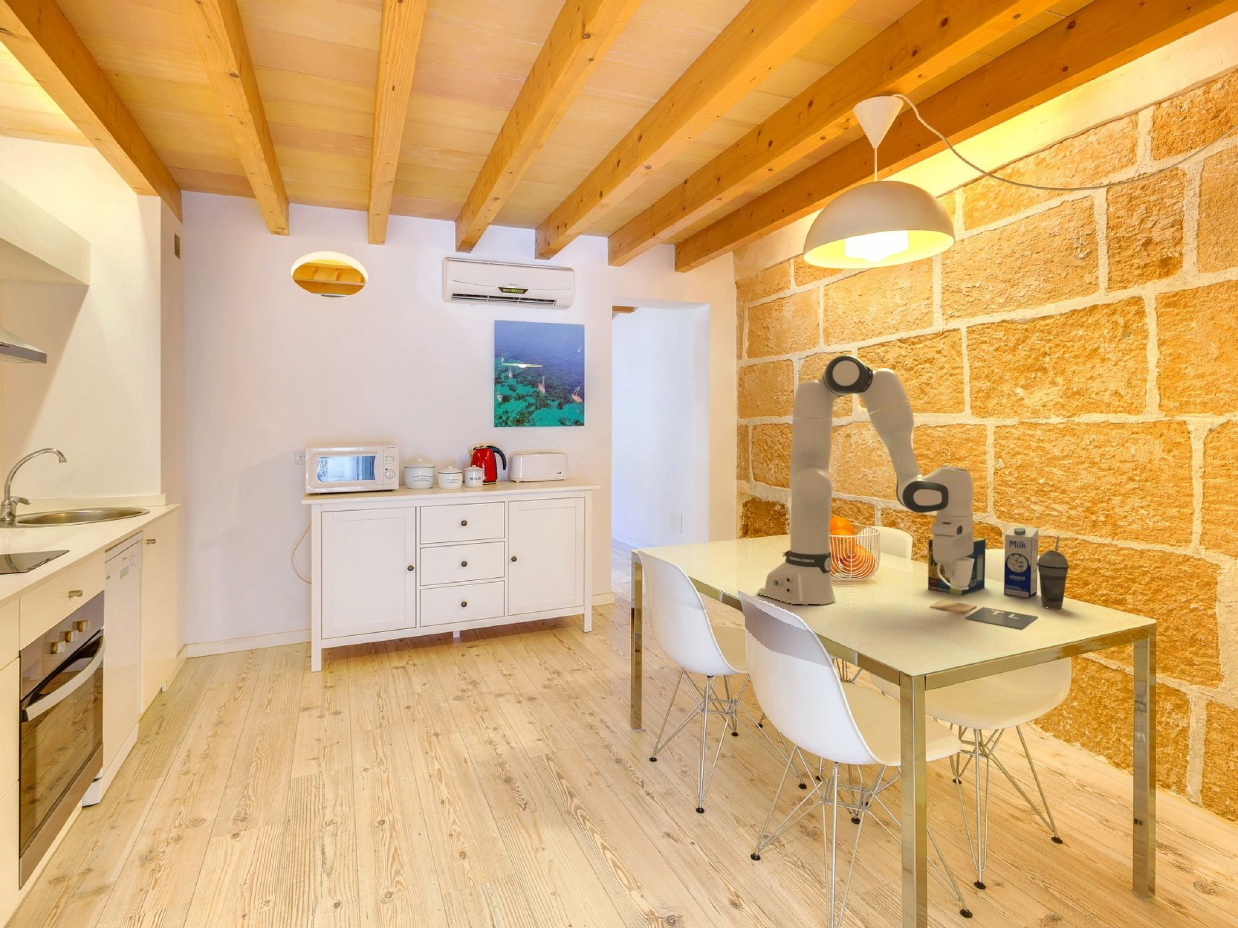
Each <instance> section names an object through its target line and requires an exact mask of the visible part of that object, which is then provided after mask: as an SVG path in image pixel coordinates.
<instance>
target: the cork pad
mask: <svg viewBox="0 0 1238 928" xmlns="http://www.w3.org/2000/svg"><path fill="white" fill-rule="evenodd" d="M929 608H930V609H935V610H940V611H945V612H951V613H957V614H962V615H966V614H967V613H969V612H971V611H973V610H975V609H976V608H977V605H974V604H971V603H970V604H969V603H963V602H957V601H954V600H953V601H951V600H946V599H941V600H939V601H937V602H935V603H933V604H931V605H929Z"/></svg>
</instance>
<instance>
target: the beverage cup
mask: <svg viewBox="0 0 1238 928" xmlns="http://www.w3.org/2000/svg"><path fill="white" fill-rule="evenodd" d="M1059 540H1060V535H1057V536H1056V542H1055V549H1054V550H1048V551H1044V552H1043V553H1042V554H1041V555H1039V557H1038V563H1037V572H1038V575H1039V587H1040V599H1041V606H1042V607H1043V606H1044V607H1043V608H1045V607H1048V608H1047V609H1049V608H1052V609H1051V610H1062V609H1063V604H1064V597H1065V589H1066V580H1067V574H1068V571H1069V568H1070V566H1069V562H1068V560H1067V558H1066V556H1065V555H1064V554H1063V553H1061V552H1059V551H1058V547H1059V542H1060V541H1059ZM1061 608H1062V609H1061Z"/></svg>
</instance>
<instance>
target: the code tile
mask: <svg viewBox="0 0 1238 928" xmlns="http://www.w3.org/2000/svg"><path fill="white" fill-rule="evenodd" d="M1036 618H1037V619H1038V618H1039V617H1038V616H1036V615H1029V614H1027V613H1020V612H1014V611H1008V610H1002V609H997V608H996V609H995V608H990V607H985V606H982V607H981V608H979V609H977V610H975V611H974V612H972V613H970V614H968V615H967V616H965V617H964V619H965V620H967V621H968V620H969V621H974V622H980V623H984V624H989V625H990V624H991V625H996V626H1001V627H1006V628H1010V629H1015V630H1016V629H1017V630H1023V629H1024V628H1026V627H1027V626H1029V625H1030V624H1031V623H1032V622H1034V621H1035V620H1037V619H1036Z"/></svg>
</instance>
